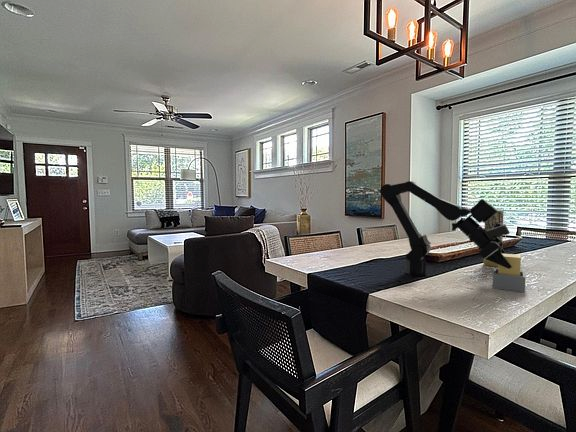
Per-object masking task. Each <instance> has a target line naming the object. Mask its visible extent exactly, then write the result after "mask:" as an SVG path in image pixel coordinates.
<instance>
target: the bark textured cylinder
mask: <svg viewBox="0 0 576 432" xmlns="http://www.w3.org/2000/svg"><path fill="white" fill-rule="evenodd" d="M495 209H496V210H497V211H498V213H497V214H495V215H494V216H493V217H492V218H490V219H489V220H488V221H487V222H485V223H484V228H486V229H487V230H490V229H492V228H494V225H495V224H498V223H500V224H501V225H504V209H498V208H495ZM503 236H504V235H502V236H499V237H498V238H500V239H501V242H502V243H503V239H504V238H503ZM501 242H498V244H499V243H501ZM482 260H483V265H485V266H488V267H492V268H493V267H494V268H495V267H496V268H498V266H499V264H496V263H494V262H492V261H489V260H486V259H485V258H484V259H482Z"/></svg>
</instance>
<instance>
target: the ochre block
mask: <svg viewBox="0 0 576 432" xmlns="http://www.w3.org/2000/svg"><path fill="white" fill-rule="evenodd" d="M502 255H503V256H504V257H505V258H506V260H507V261H508V262H509V264H510V265H511V266H512V267H511V268H510V269H508V268H506V267H503V266H501V265H499V266H498V267H497V269H498V274H505V275H514V276H520V271H521V266H522V265H521V264H522V263H521V260H522V259H521V254H516V253H515V254H514V253H506V254H503V253H502Z"/></svg>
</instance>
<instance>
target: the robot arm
mask: <svg viewBox="0 0 576 432" xmlns="http://www.w3.org/2000/svg"><path fill="white" fill-rule="evenodd" d="M379 193H380V196H381V197H382V198H383V200H384V201H385V202H386V203H388V205H390V207H391V208H392V210H393V212H394V213H395V215H396V217H397V219H398V221H399V223H400V224H401V226H402V229H403V230H404V232H405V233H406V235H407V237H408V242H409V247H410V251H409V252H408V253H406V254H405V258H406V265H405V266H406V268H405V269H406V270H405V271H404V273H405V274H407V275H408V276H410V277H427V276H428V274H427V263H426V259H425V256H426V255H428V254H429V253H430V252H431V249H432V247H431V241H429V240H428V236H427V234H423V235H422V234H421V233H420V232H419V231H418V229H417V227H416V226H415V223H414V222H413V220H412V218H411V216H410V214H409V213H408V211H407V210H406V208H405V206H404V203H403V202H402V196H401V195H402V194H405V193H410V194H412V195H414V196H415V197H417V198H419V199H421V200H422V201H423V202H425V203H427V204H428V205H430V206H432V207H433V208H434V209H436V210H437V211H438V213H439V214H441V216H443V217H444V218H445V219H446V220H448V221H456V220H457V221H456V222H452V223H451V227H452V228H451V231H453V232H454V231H456V230H457V229H459V230H460V231H461V232H462V233H463V234H464V235H465V236H466V237H467V238H468V240H469V241H470V242H472V243H473V244H474V245H476V246H477V248H478V250H479V251H478V255H479V256H480V257H481V258H482V260H484V258H485V259H486V260H489V261H492V262H494V263H496V264H499V265H501V266H503V267H506V268H508V269H510V268H511V267H512V266H511V265H510V264H509V262H508V261H507V260H506V258H505V257H504V256H503V255H502V253H503V254H507V253H506V252H505V250H504V248H503V241H502V242H501V239H500V238H498V237H499V236H502V235H503V236H506V235H509V234H510V233H511V232H510V231H509V229H508V227H507V225H506V223H505V224H504V223H503V225H501V224H500V223H498V224H495V225H494V228H492V229H490V230H487V229H486V228H485V227H483V226H481V225H480V224H481V222H482V223H484V224H485V222H487V221H488V220H489V219H490V218H492V217H493V216H494V215H495V214H497V213H498V211H497V210H496V209H497V208H495V207H494V206H493V205H492V204H489V202H487V201H486V200H484V199H483V198H482V199H480V200H478V202H477V203H476V204H475V205H474V206H473V207H472V208H463V207H461V206H460V205H459V204H456V203H454V202H450V201H448V200H446V199H443V198H441V197H439V196H437V195H435V194H434V193H432V192H431V191H429V190H427V189H425V188H423V187H421V186H420V185H418V184H417V183H416V182H414V181H410V180H409V181H406V182H405V181H404V182H401V183H396V184H393V183H392V184H390V183H385V184H383V185H382V186H381V187H380V190H379ZM469 214H470V215H469ZM468 215H469V216H468ZM465 216H467V217H466V218H465V219H464V218H463V217H465ZM461 217H462V218H461ZM458 219H459V220H458ZM479 223H480V224H479ZM498 242H501V243H499V244H498Z"/></svg>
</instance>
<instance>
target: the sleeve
mask: <svg viewBox="0 0 576 432" xmlns="http://www.w3.org/2000/svg"><path fill="white" fill-rule="evenodd" d="M525 273H526V272H525V271H522V270H520V276H514V275H505V274H498V268H497V267H496V268H495V267H494V268H493V271H492V289H498V290H499V289H500V290H505V291H512V292H520V293H526V277H527V276H526V274H525Z"/></svg>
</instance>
